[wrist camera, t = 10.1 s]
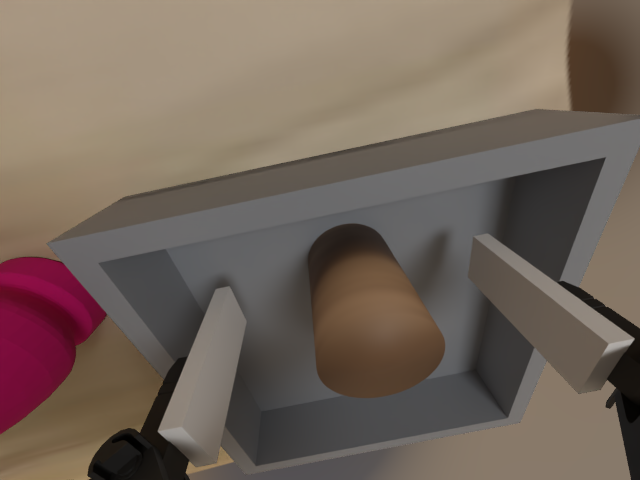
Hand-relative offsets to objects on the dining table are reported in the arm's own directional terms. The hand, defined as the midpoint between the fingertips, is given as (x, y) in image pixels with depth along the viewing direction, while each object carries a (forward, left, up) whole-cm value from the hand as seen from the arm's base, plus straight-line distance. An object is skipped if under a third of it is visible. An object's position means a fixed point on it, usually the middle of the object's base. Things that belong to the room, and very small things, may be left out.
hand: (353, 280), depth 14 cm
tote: (+5, 0, -3) cm, 6 cm away
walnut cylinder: (0, 0, -2) cm, 2 cm away
